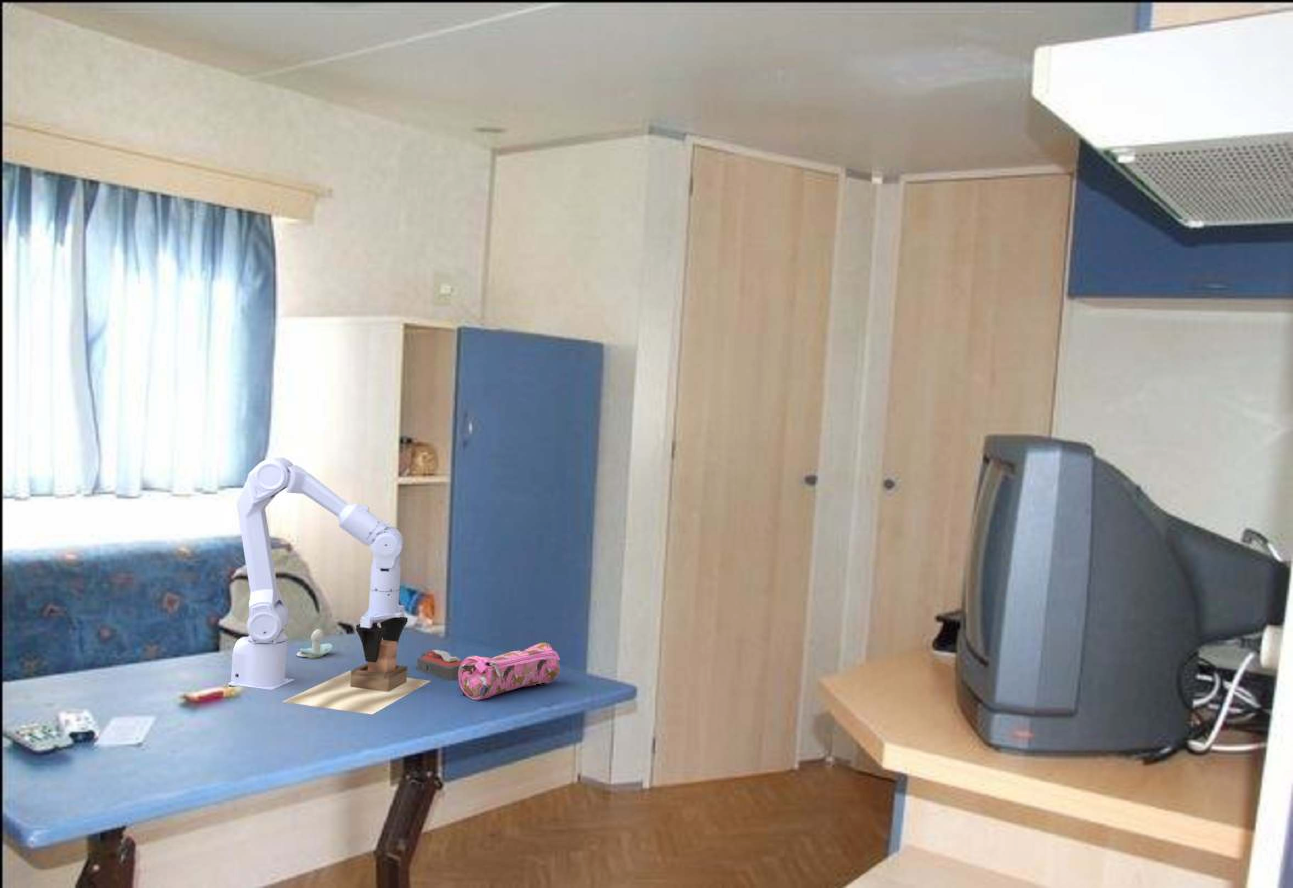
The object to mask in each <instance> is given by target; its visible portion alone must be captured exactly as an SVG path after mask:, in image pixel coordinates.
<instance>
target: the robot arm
mask: <svg viewBox="0 0 1293 888" xmlns="http://www.w3.org/2000/svg"><path fill="white" fill-rule="evenodd" d="M284 490H285V493H290V494H303V495H304V496H306V497H307V498H309V499H310V500H312V501H313V502H315V503H316V504H318V505H319V506H321V507H322V508H324V509H325V510H327V511H328V512H330V513H331V514H333V515H334V516H335V517H337V519H338V526H339V528H341V529H342V530H343V531H345V532H346V533H348V535H350V536H352V537H353V538H355V539H356V540H357V541H359V542H360V544H363V545H364V546H368V547H370V548H369V549H370V551H371V553H372V563H371V566H370V581H369V593H368V595H369V596H368V609H367V610H366V612H365V613H364V615H363V616H361V617H360V623H359V624H356V625H355V631H356V632H357V635H358V636H359V639H360V641H361V645H362V649H363V655H364V659H365V662H367V663H368V662H374V663H375V662H377V659H378V656H379V650H380V644H381V641H382V640H388V641H395V642H397V645H398V644H399V640H400V637H401V635H402V633H403V630H404V629H405V627H406V625H407V623H408V620H409V619H408V617H406V616H404V614H405V605H401V604H399V603H400V602H399V599H400V589H401V570H402V567H401V563H402V557H401V551H402V549H403V545H404V538H403V535H402V533H401V532H400V531H399V530H398V529H397V528H396V527H395V526H392V525H391V526H390V523H389V522H388V521H387V520H384V521H383V520H381V518H379V517H378V516H377V515H375V514H373V513H372V512H371V511H370V507H369V506H367V505H366V504H363V506H362V505H361V504H360V503H358V502H357V503H348V502H346V501H345V500H344V499H342V498H341V497H340V496H339V495H338V494H337V493H335V492H333V491H332V490H331V489H330V488H328V487H327V486H326V485H325V484H323V483H322V482H321V481H320V480H319V479H317V478H316V477H315V476H314V475H312V474H311V473H309V471H307V470H306V469H304V468H302V467H301V466H299V465H296V464H295V465H294V464H293V462H292V461H290V459H287V458H284V457H281V456H280V457H274V458H270V459H266V460H262V461H260V463H258V464H256V466H255V467H254V468H253V469H252V470H251V471H250V472H249V473H248V474H247V479H246V481H245V483H244V486H243V487H242V490H241V492H240V495H239V496H238V497H237V500H236V509H237V516H238V522H239V529H240V533H241V541H242V547H243V553H244V554H243V555H244V560H245V566H246V573H247V579H248V585H249V591H250V595H249V601H248V609H249V614H248V615H249V616H248V619H247V621H246V631H247V633H248V636H242V637H240V638H239V639H238V640H237V641H236V642H235V644H234V647H233V650H232V658H231V674H230V682H228V686H229V685H231V686H232V687H239V686H243V687H250V688H259V689H264V690H274V689H277V688H279V687H280V686H283V685H286V684H288V683H291V682H293V681H294V680H295V679H293V678H287V677H286V667H287V666H286V665H287V664H286V662H287V646H288V635H287V634H286V633H285V630H284V629H286V627H287V625H288V624H289V621H290V618H291V617H290V616H291V615H290V612H289V611H290V610H289V608H288V607H287V606H286V605H285V603H284V601H283V598H282V596H283V595H282V593H281V591H280V589H279V588H278V581H277V576H276V570H275V564H274V562H275V561H274V557H273V551H272V550H273V549H272V545H271V544H272V542H271V538H270V537H271V536H270V532H269V524H268V517H267V512H266V508H267V506H269V504H270V503H271V502H272V501H273V499H274V498H275V497H276V496H277V495H278V494H279V493H281V492H282V491H284ZM378 624H379V625H380V627H379V625H378ZM231 686H230V687H231Z"/></svg>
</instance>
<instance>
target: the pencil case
mask: <svg viewBox="0 0 1293 888" xmlns="http://www.w3.org/2000/svg"><path fill="white" fill-rule="evenodd" d="M462 661H463V662H462V663H461V665H460V667H459V672H458V678H459V679H458V684H459V688H460V690H461V691H462V693H463V694H464V695H465V696H466V697H467V698H468V699H471V700H474V701H480V700H485V699H488V698H490V697H493V696H497V695H499V694H503V693H505V692H510V691H513V690H516V689H520V688H522V687H533V686H537V685H536V684H540V685H542V684H541V683H547V684H549V683H552V682H553V681H555V680H556V679H557V678H558V677H559V674H560V671H561V666H560V662H559V661H561V658H560V656H559V654H558V653H557V651H556V650H554V649H553V648H552V646H551V645H550V644H549V643H547V642H539V643H537V644H534V645H531V646H529V647H528V648H525V649H520V650H512V651H509V652H506V653H502V654H500V655H496V656H494V657H492V658H491V657H486V656H479V655H469V656H467V657H466V658H465V659H464V660H462ZM532 685H533V686H532Z"/></svg>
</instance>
